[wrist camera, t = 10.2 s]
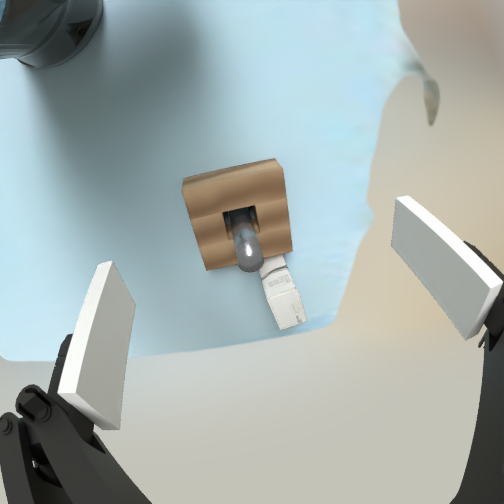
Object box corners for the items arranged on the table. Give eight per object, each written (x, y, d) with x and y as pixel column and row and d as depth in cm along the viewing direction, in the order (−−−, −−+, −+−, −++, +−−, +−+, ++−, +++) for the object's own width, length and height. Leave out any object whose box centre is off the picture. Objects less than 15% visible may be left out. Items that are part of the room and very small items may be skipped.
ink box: (252, 252, 53) (264, 298, 43) (278, 243, 53) (296, 286, 43) (266, 286, 58) (280, 332, 48) (290, 277, 58) (308, 322, 48)
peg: (226, 203, 47) (235, 254, 36) (246, 199, 47) (262, 248, 36) (230, 221, 49) (240, 274, 37) (249, 217, 49) (265, 269, 38)
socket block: (183, 178, 43) (181, 190, 39) (274, 158, 44) (282, 168, 40) (205, 253, 52) (206, 270, 47) (285, 235, 52) (292, 251, 48)
